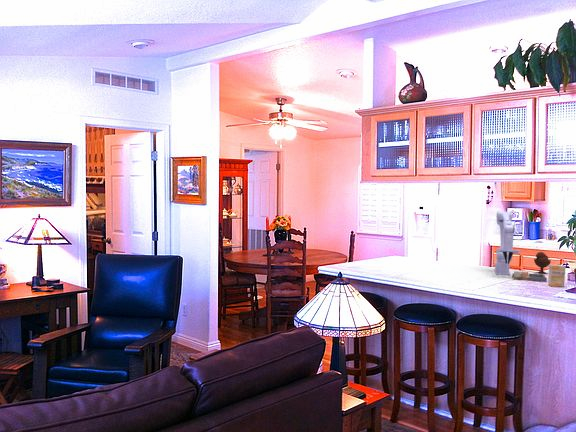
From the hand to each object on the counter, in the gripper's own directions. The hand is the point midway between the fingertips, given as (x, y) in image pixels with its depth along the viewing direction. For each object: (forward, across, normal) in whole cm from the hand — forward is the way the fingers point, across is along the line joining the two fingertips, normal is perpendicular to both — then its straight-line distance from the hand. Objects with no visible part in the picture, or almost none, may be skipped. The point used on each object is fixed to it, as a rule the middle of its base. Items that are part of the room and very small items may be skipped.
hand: (507, 263), depth 375 cm
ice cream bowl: (+10, +25, +29) cm, 39 cm away
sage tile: (+7, +6, 0) cm, 10 cm away
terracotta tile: (+7, +11, 0) cm, 13 cm away
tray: (+9, +19, 0) cm, 21 cm away
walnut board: (+9, +9, 0) cm, 13 cm away
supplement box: (+10, +27, -21) cm, 36 cm away
